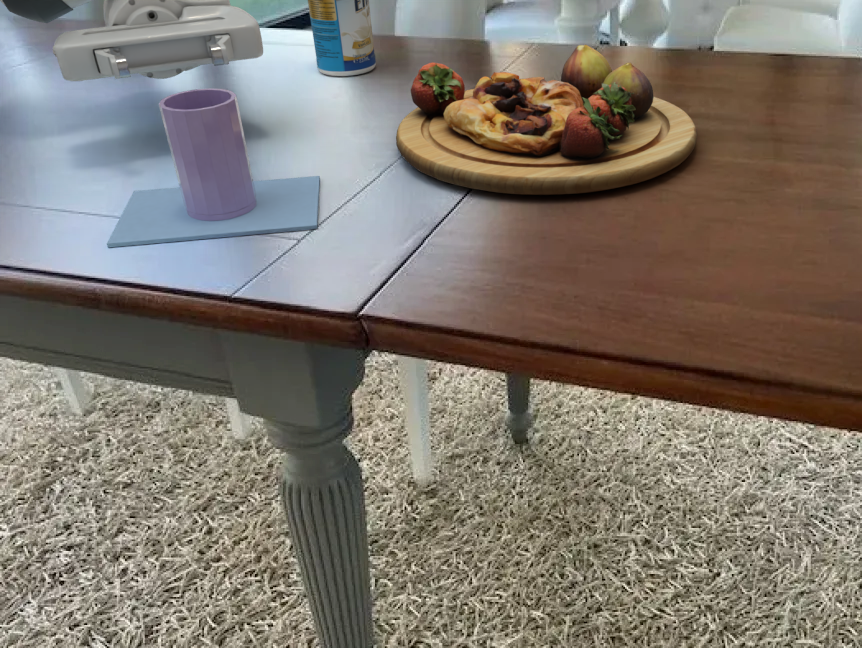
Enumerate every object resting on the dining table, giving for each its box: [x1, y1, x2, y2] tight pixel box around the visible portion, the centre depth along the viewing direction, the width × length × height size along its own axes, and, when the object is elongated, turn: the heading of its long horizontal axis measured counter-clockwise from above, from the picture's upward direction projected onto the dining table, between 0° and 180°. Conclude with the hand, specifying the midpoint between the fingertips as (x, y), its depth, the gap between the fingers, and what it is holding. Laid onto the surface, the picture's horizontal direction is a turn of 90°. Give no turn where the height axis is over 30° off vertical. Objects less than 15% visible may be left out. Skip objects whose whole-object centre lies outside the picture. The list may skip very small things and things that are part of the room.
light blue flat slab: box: [106, 175, 321, 248], centre depth 80 cm, size 18×12×1 cm, turn 99°
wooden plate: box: [395, 44, 698, 196], centre depth 90 cm, size 32×32×8 cm
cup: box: [158, 87, 257, 221], centre depth 77 cm, size 6×6×10 cm
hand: (171, 63), depth 84 cm, fingers open, 8 cm apart
